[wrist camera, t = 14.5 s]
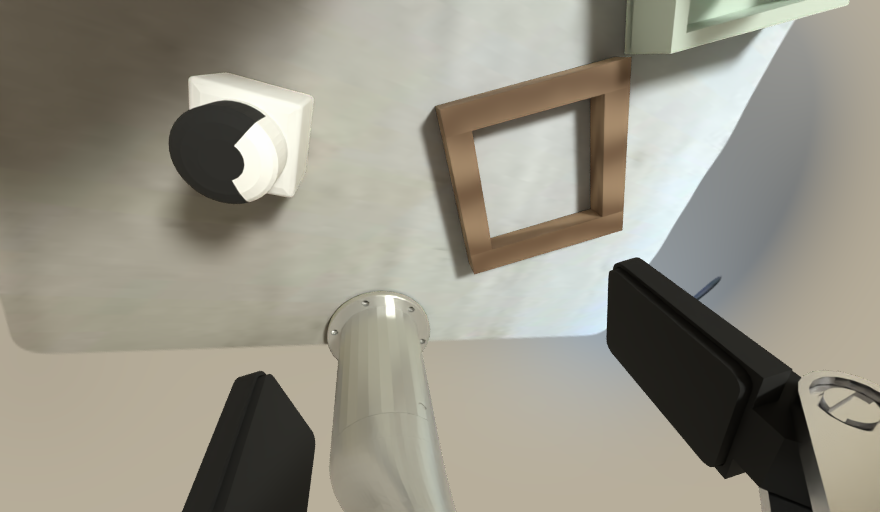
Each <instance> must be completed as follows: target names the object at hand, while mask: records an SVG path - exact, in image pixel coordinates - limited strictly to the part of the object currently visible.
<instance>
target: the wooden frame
mask: <svg viewBox="0 0 880 512" xmlns="http://www.w3.org/2000/svg"><path fill="white" fill-rule="evenodd" d="M631 58H632V57H613V58H609V59H605V60H602V61H598V62H594V63H591V64H587V65H583V66H580V67H576V68H572V69H569V70H565V71H561V72H558V73H554V74H550V75H547V76H543V77H539V78H536V79H532V80H529V81H525V82H521V83H518V84H514V85H510V86H507V87H503V88H499V89H496V90H492V91H488V92H485V93H481V94H477V95H474V96H470V97H466V98H463V99H459V100H455V101H452V102H448V103H445V104H441V105H437V106H435V108H436V113H437V117H438V122H439V127H440V131H441V136H442V141H443V145H444V150H445V154H446V159H447V164H448V168H449V173H450V178H451V182H452V187H453V191H454V196H455V201H456V205H457V210H458V215H459V219H460V224H461V228H462V233H463V238H464V242H465V247H466V252H467V256H468V261H469V264H470V266H471V268H472V270H473V272H474V274H477V273H480V272H484V271H487V270H490V269H494V268H497V267H501V266H504V265H507V264H511V263H514V262H517V261H521V260H524V259H527V258H531V257H534V256H537V255H541V254H544V253H547V252H551V251H554V250H558V249H561V248H564V247H568V246H571V245H574V244H578V243H581V242H584V241H588V240H591V239H594V238H598V237H601V236H605V235H608V234H611V233H615V232H618V231H621V230H622V227H623V208H624V189H625V171H626V152H627V133H628V114H629V95H630V77H631ZM588 98H590V209H588V210H585V211H581V212H578V213H575V214H571V215H568V216H564V217H561V218H558V219H554V220H551V221H547V222H544V223H541V224H537V225H534V226H530V227H527V228H524V229H520V230H517V231H513V232H510V233H507V234H503V235H500V236H496V237H493V238H490V233H489V227H488V221H487V215H486V210H485V204H484V198H483V192H482V186H481V180H480V174H479V169H478V163H477V157H476V151H475V145H474V139H473V134H472V131H473V130H477V129H480V128H484V127H487V126H491V125H495V124H498V123H502V122H505V121H509V120H512V119H516V118H520V117H523V116H527V115H530V114H534V113H538V112H541V111H545V110H548V109H552V108H556V107H559V106H563V105H566V104H570V103H574V102H577V101H581V100H584V99H588Z"/></svg>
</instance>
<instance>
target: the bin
mask: <svg viewBox="0 0 880 512" xmlns="http://www.w3.org/2000/svg"><path fill="white" fill-rule="evenodd" d="M849 1H850V0H627V7H626V30H625V53H624V54H672V53H675V52H679V51H683V50H686V49H690V48H694V47H697V46H701V45H704V44H708V43H712V42H715V41H719V40H723V39H726V38H730V37H733V36H737V35H741V34H744V33H748V32H752V31H755V30H759V29H762V28H766V27H770V26H773V25H777V24H781V23H784V22H788V21H792V20H795V19H799V18H802V17H806V16H809V15H813V14H817V13H820V12H824V11H828V10H831V9H835V8H839V7H842V6H846V5H848V3H849Z"/></svg>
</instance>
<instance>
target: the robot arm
mask: <svg viewBox="0 0 880 512" xmlns="http://www.w3.org/2000/svg"><path fill="white" fill-rule="evenodd" d="M429 337H430V326H429V321H428V318H427V315H426V313H425V312H424V310H423V308H422V307H421V306H420V305H419V304H418V303H417V302H416V301H414V300H412V299H411V298H409V297H407V296H405V295H402V294H399V293H395V292H388V291H377V292H369V293H365V294H361V295H359V296H356V297H354V298H352V299H350V300H349V301H347V302H346V303H344V304H343V305H342V306H341V307H340V308H339V309H338V310H337V311H336V312H335V313H334V315H333V316H332V318H331V320H330V323H329V326H328V332H327V342H328V346H329V349H330V351H331V352H332V354H333V356H334V357H335V358H336V359H337V360H338V371H337V382H336V395H335V405H334V417H333V428H332V441H331V452H330V479H331V484H332V487H333V491H334V494H335V496H336V498H337V500H338V502H339V504H340V506H341V508H342V509H343V511H344V512H456V508H455V505H454V502H453V499H452V495H451V491H450V487H449V483H448V479H447V475H446V471H445V466H444V461H443V457H442V452H441V447H440V442H439V437H438V433H437V427H436V422H435V417H434V412H433V407H432V402H431V397H430V391H429V386H428V381H427V376H426V371H425V366H424V360H423V355H422V352H423V350H424V349H425V347H426V345H427V343H428V340H429ZM607 345H608V347H609V349H610V351H611V352H612V354H613V355H614V356H615V357H616V359H617V360H618V361H619V362H620V363H621V364H622V366H623V367H624V368H625V369H626V371H627V372H628V373H629V374H630V375H631V376H632V378H633V379H634V380H635V381H636V383H637V384H638V385H639V386H640V387H641V389H642V390H643V391H644V392H645V393H646V395H647V396H648V397H649V398H650V399H651V401H652V402H653V403H654V404H655V405H656V406H657V408H658V409H659V410H660V411H661V412H662V414H663V415H664V416H665V417H666V418H667V420H668V421H669V422H670V423H671V424H672V426H673V427H674V428H675V429H676V430H677V432H678V433H679V434H680V435H681V436H682V438H683V439H684V440H685V441H686V442H687V444H688V445H689V446H690V447H691V448H692V450H693V451H694V452H695V453H696V454H697V456H698V457H699V458H700V459H701V460H702V461H703V462H704V463H705V464H706V465H708V466H709V467H715V468H716V469H717V470H718V472H719V473H720V474H721V475H722V476H723V477H724V479H727V478H730V477H733V476H735V475H739V474H742V473H745V472H746V473H747V474H748V475H749V477H750V478H751V479H752V480H753V481H754V482H755V483H756V484H757V485H758V486H759V493H760V500H761V507H762V512H880V386H879V385H878V384H876V383H874V382H871V381H869V380H866V379H864V378H861V377H859V376H856V375H852V374H848V373H844V372H839V371H829V370H822V371H812V372H810V373H808V374H806V375H803V377H802V378H801V377H800V376H799V375H797V374H796V373H794V372H793V371H792V369H791V368H790V367H789V366H787V365H786V364H784V363H783V362H782V361H780V360H779V359H778V358H776V357H775V356H774V355H772V354H771V353H769V352H768V351H767V350H765V349H764V348H763V347H761V346H760V345H758V344H757V343H756V342H754V341H753V340H752V339H750V338H749V337H748V336H746V335H745V334H743V333H742V332H741V331H739V330H738V329H737V328H735V327H734V326H732V325H731V324H730V323H728V322H727V321H726V320H724V319H723V318H721V317H720V316H719V315H717V314H716V313H715V312H713V311H712V310H711V309H709V308H708V307H706V306H705V305H704V304H702V303H701V302H700V301H698V300H697V299H695V298H694V297H693V296H691V295H690V294H689V293H687V292H686V291H684V290H683V289H682V288H680V287H679V286H677V285H676V284H675V283H673V282H672V281H671V280H669V279H668V278H667V277H665V276H664V275H662V274H661V273H660V272H658V271H657V270H656V269H654V268H653V267H651V266H650V265H649V264H648V263H646V262H645V261H643V260H642V259H640V258H636V257H635V258H632V259H629V260H625V261H622V262H619V263H616V264H615V265H614V267H613V270H611V271H610V272H609V278H608V309H607ZM314 452H315V438H314V434H313V432H312V430H311V429H310V428H309V426H308V425H307V423H306V422H305V421H304V419H303V418H302V416H301V415H300V413H299V412H298V411H297V409H296V408H295V407H294V405H293V403H292V402H291V401H290V399H289V398H288V397H287V395H286V394H285V392H284V391H283V389H282V388H281V386H280V385H279V384H278V382H277V381H276V379H275V378H274V377H273V376H272V375H271V374H268V375H266V374H265V373H264V372H263V371H258V372H255V373H251V374H248V375H245V376H242V377H238V378H237V379H236V380H235V382H234V384H233V386H232V389H231V391H230V394H229V396H228V399H227V401H226V403H225V406H224V408H223V411H222V413H221V416H220V418H219V421H218V423H217V426H216V428H215V431H214V434H213V436H212V438H211V441H210V443H209V446H208V448H207V451H206V453H205V456H204V458H203V461H202V463H201V466H200V469H199V471H198V473H197V476H196V478H195V481H194V483H193V486H192V488H191V491H190V493H189V496H188V498H187V501H186V503H185V506H184V508H183V511H182V512H307V507H308V498H309V491H310V483H311V475H312V467H313V459H314Z"/></svg>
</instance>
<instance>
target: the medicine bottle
mask: <svg viewBox="0 0 880 512" xmlns="http://www.w3.org/2000/svg"><path fill="white" fill-rule="evenodd" d="M188 91H189V110H188V111H186V112H185V113H183V114H182V115H181V116H180V117H179V118H178V119H177V120H176V122H175V123H174V124H173V127H172V129H171V131H170V135H169V152H170V156H171V159H172V161H173V164H174V166H175V168H176V170H177V171H178V173H179V174H180V175H181V177H182V178H183V179H184V180H185V181H186V182H187V183H188V184H189V185H190V186H191V187H192V188H193V189H195V190H196V191H198V192H199V193H201V194H202V195H204V196H206V197H208V198H211V199H213V200H216V201H219V202H223V203H230V204H242V203H248V202H251V201H254V200H256V199H258V198H260V197H262V196H263V195H265V194H266V193H267V194H272V195H278V196H283V197H288V198H291V197H293V196H294V194H295V192H296V190H297V188H298V186H299V184H300V182H301V180H302V179H303V177H304V175H305V173H306V167H307V158H308V149H309V140H310V132H311V123H312V114H313V106H314V98H313V97H312V96H311V95H308V94H304V93H300V92H297V91H293V90H289V89H286V88H282V87H279V86H275V85H271V84H268V83H264V82H260V81H257V80H253V79H249V78H246V77H242V76H238V75H235V74H231V73H227V72H224V73H215V74H206V75H197V76H191V77H190V78H189V80H188Z"/></svg>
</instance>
